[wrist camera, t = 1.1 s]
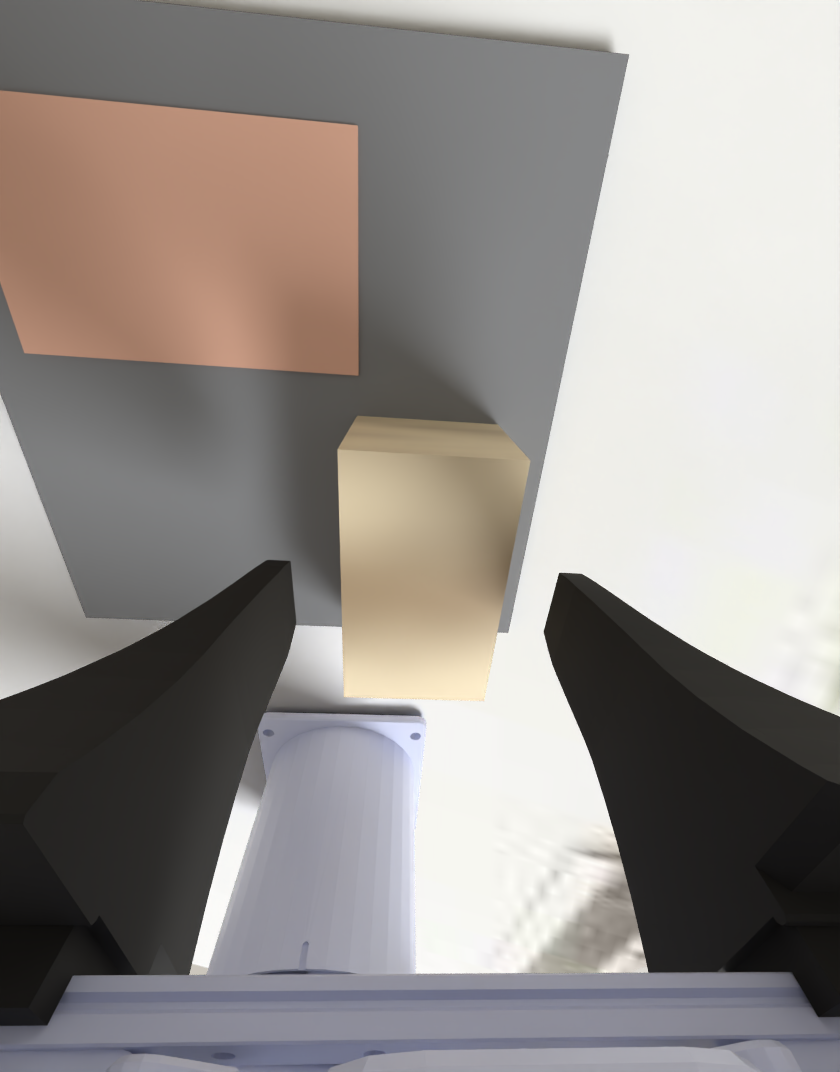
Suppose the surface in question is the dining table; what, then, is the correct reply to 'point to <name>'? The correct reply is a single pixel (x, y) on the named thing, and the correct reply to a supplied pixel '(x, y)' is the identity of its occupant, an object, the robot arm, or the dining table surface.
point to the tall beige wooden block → (425, 554)
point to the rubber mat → (273, 273)
